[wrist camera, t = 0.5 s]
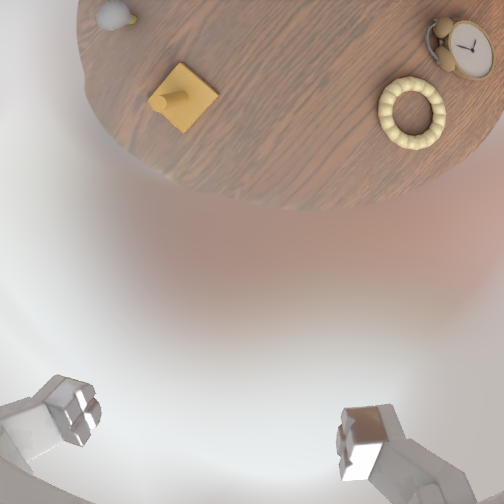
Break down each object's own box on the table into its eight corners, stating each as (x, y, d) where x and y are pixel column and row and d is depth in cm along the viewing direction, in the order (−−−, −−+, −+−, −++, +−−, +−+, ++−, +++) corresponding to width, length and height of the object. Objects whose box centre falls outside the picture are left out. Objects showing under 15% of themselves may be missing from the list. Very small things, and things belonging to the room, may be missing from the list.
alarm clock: (496, 87, 36) (436, 70, 35) (479, 84, 40) (420, 69, 40) (495, 31, 30) (433, 6, 29) (478, 31, 34) (417, 10, 34)
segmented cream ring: (413, 63, 40) (419, 63, 38) (453, 121, 44) (459, 123, 42) (361, 105, 45) (365, 106, 43) (405, 161, 49) (409, 165, 47)
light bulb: (137, 37, 42) (108, 33, 34) (115, 28, 41) (84, 24, 33) (152, 11, 40) (125, 2, 31) (128, 3, 38) (99, -6, 30)
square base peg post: (182, 62, 45) (156, 60, 35) (220, 95, 47) (202, 100, 38) (150, 100, 49) (119, 108, 39) (186, 132, 51) (161, 146, 42)
